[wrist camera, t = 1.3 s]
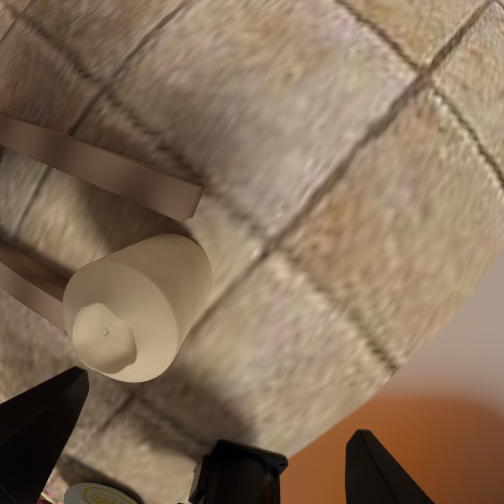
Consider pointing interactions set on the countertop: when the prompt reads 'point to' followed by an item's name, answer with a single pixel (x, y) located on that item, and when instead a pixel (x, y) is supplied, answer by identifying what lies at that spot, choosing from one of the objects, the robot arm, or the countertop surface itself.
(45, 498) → the candy landscape model
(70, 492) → the air freshener
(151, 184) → the u rest
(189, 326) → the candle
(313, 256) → the countertop surface
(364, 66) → the countertop surface
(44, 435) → the robot arm
